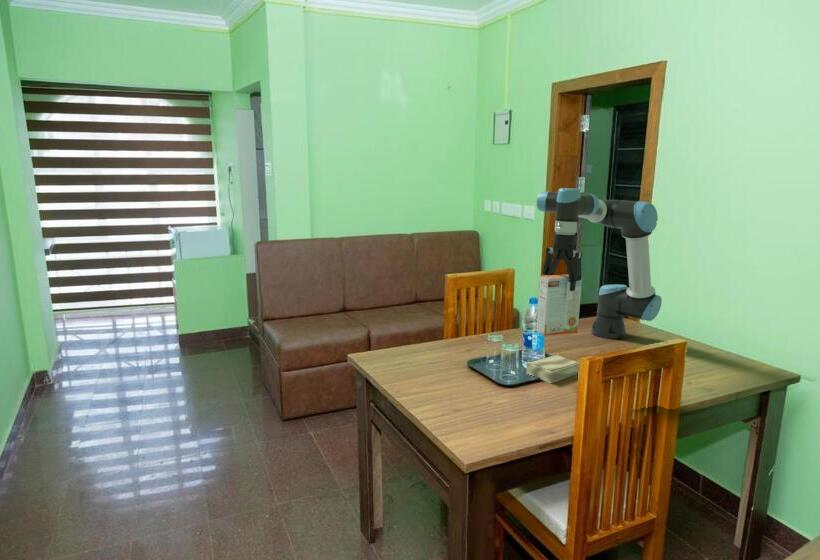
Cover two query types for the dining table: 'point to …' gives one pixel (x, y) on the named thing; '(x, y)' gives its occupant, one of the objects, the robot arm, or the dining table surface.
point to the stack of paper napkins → (552, 368)
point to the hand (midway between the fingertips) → (559, 297)
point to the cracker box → (557, 306)
